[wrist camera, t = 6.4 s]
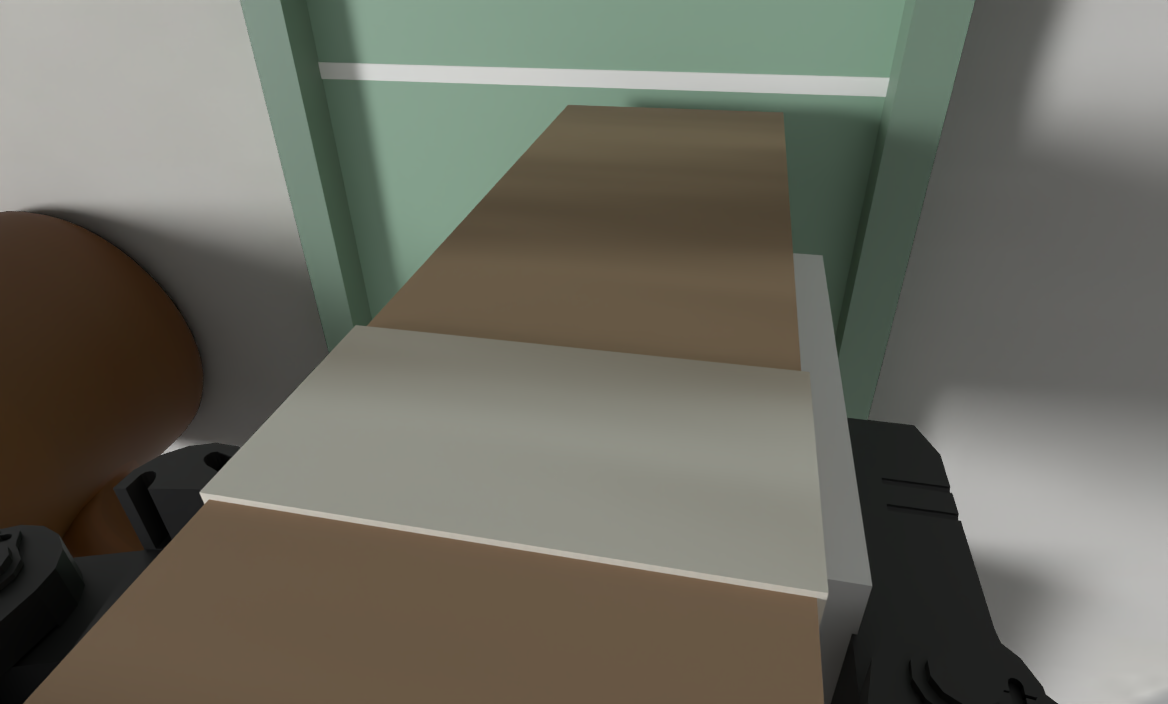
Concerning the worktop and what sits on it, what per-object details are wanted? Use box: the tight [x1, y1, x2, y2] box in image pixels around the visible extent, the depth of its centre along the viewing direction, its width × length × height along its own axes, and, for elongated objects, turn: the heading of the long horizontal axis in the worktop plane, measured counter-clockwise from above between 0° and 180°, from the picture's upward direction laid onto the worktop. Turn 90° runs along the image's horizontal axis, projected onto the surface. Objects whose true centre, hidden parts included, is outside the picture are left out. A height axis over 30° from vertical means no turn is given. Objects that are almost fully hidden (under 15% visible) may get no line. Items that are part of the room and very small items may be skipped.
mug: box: [0, 211, 203, 558], centre depth 16 cm, size 12×8×9 cm, turn 52°
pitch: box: [240, 0, 975, 420], centre depth 13 cm, size 28×12×5 cm, turn 1°
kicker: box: [23, 105, 829, 704], centre depth 8 cm, size 6×4×12 cm, turn 1°
